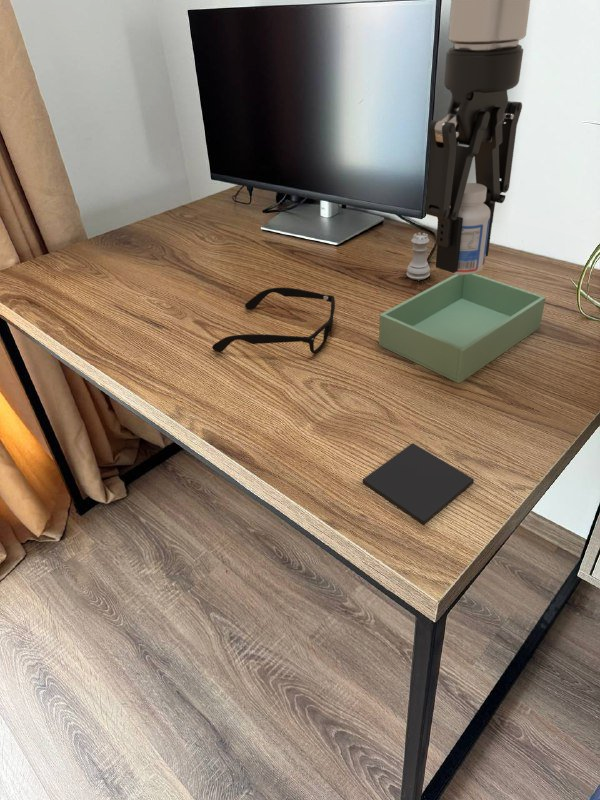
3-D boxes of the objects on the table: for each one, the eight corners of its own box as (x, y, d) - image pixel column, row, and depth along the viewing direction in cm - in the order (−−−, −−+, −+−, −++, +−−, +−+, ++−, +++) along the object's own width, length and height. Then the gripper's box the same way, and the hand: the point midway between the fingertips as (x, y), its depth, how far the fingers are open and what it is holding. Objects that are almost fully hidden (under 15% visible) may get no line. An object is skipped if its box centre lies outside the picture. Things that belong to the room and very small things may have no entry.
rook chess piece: (406, 270, 113) (408, 230, 109) (429, 270, 113) (432, 230, 108) (406, 281, 110) (408, 240, 105) (430, 281, 109) (433, 239, 104)
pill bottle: (455, 254, 76) (463, 177, 71) (492, 265, 73) (503, 185, 67) (430, 268, 73) (436, 189, 68) (467, 279, 70) (476, 197, 64)
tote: (539, 328, 94) (546, 296, 90) (459, 383, 83) (463, 350, 80) (460, 298, 103) (463, 269, 100) (378, 345, 92) (379, 314, 89)
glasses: (316, 371, 89) (317, 343, 86) (209, 353, 93) (206, 326, 90) (342, 318, 101) (343, 292, 98) (247, 305, 106) (245, 280, 103)
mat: (473, 482, 67) (474, 479, 67) (423, 525, 63) (424, 521, 62) (412, 446, 73) (412, 442, 73) (362, 483, 68) (362, 479, 68)
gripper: (505, 33, 66) (480, 233, 80) (395, 54, 57) (389, 276, 70) (568, 34, 61) (530, 246, 75) (459, 58, 52) (439, 295, 66)
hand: (462, 261), depth 73 cm, fingers closed on pill bottle, 5 cm apart
